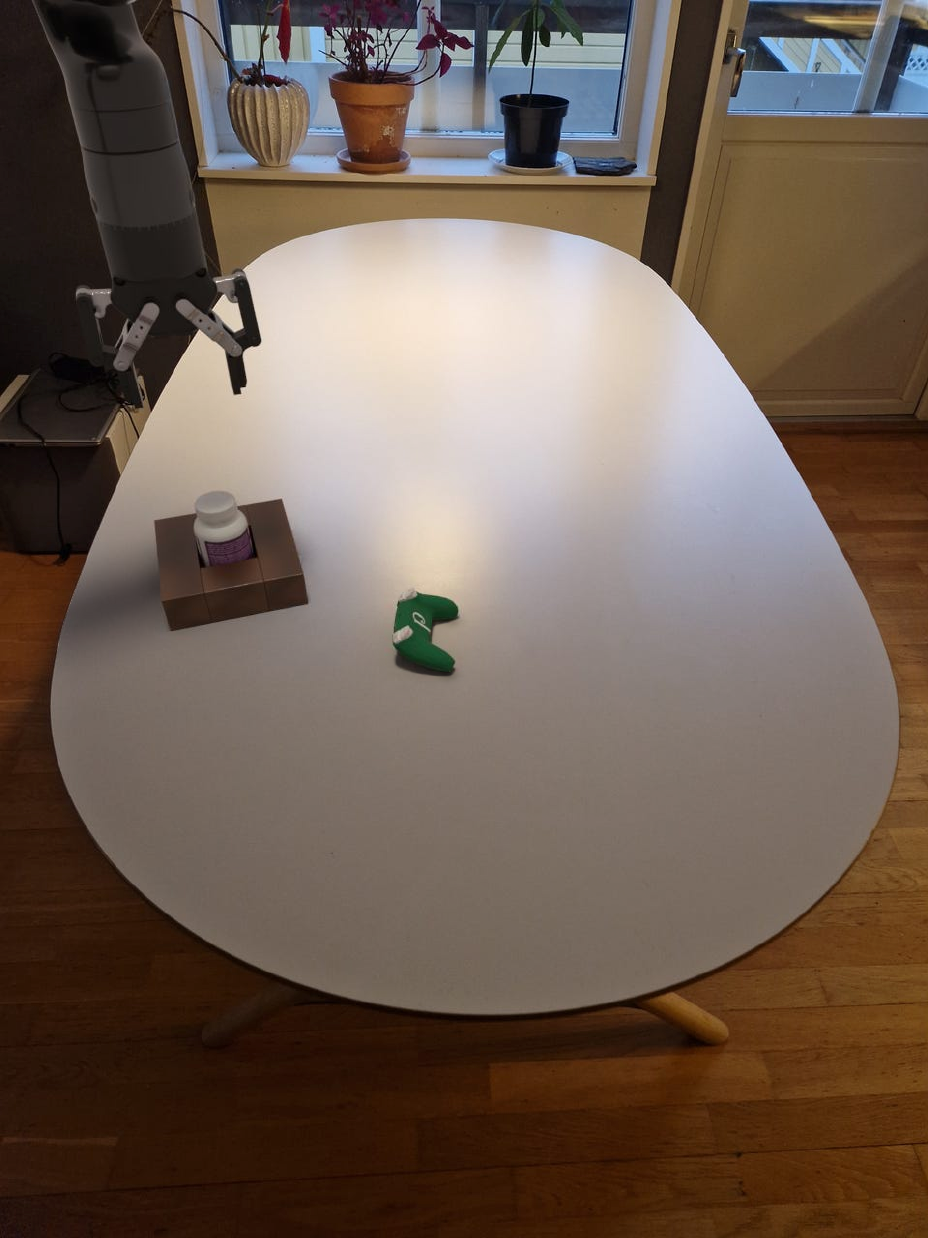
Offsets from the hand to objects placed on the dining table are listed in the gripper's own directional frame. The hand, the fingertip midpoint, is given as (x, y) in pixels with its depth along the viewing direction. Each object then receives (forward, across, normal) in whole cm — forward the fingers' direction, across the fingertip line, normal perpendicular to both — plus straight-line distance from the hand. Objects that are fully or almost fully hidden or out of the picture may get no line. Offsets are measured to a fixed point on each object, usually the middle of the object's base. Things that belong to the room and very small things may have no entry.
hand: (188, 397), depth 77 cm
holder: (+21, 0, 0) cm, 21 cm away
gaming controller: (+21, -17, +16) cm, 32 cm away
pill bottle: (+21, 0, 0) cm, 21 cm away
